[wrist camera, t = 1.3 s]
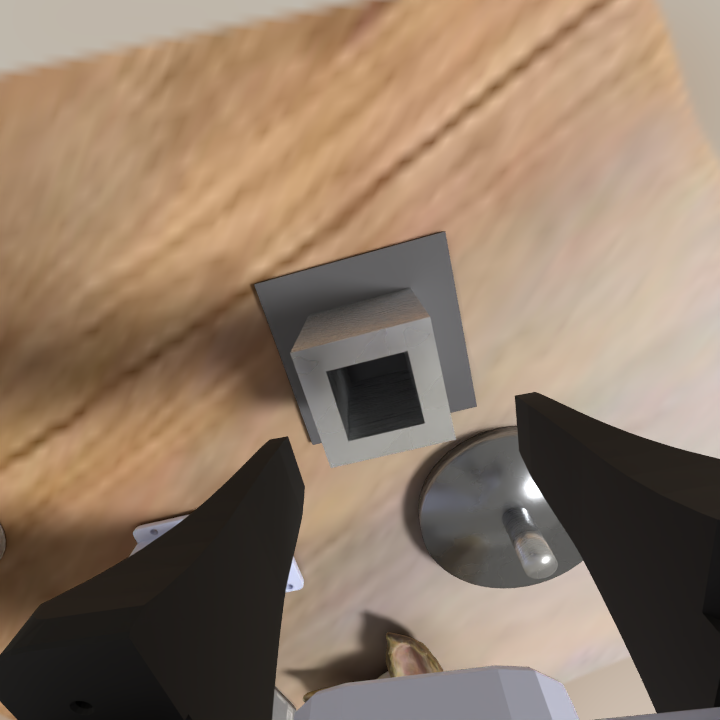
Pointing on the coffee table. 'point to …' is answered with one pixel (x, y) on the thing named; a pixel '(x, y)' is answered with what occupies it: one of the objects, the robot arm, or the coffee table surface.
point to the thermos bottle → (2, 542)
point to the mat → (364, 281)
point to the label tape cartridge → (282, 707)
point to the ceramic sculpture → (403, 659)
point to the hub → (492, 516)
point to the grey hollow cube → (373, 379)
